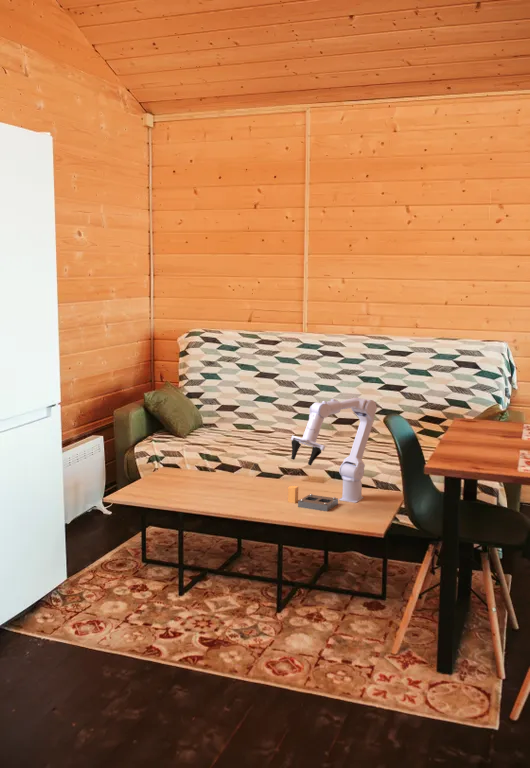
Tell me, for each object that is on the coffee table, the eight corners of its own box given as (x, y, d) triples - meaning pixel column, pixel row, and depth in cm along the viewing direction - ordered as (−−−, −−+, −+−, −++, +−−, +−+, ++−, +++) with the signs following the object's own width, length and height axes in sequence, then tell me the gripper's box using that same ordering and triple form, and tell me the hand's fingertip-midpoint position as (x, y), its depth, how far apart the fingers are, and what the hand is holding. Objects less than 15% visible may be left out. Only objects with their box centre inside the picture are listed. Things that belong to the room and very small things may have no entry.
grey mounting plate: (309, 500, 331) (309, 493, 331) (337, 504, 326) (338, 497, 325) (298, 506, 321) (298, 499, 320) (327, 511, 315) (327, 504, 315)
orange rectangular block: (291, 500, 330) (291, 485, 330) (298, 501, 329) (298, 486, 328) (288, 502, 328) (288, 487, 327) (294, 503, 326) (295, 488, 325)
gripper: (293, 423, 315) (281, 454, 313) (325, 433, 309) (313, 465, 307) (299, 427, 321) (287, 458, 319) (330, 437, 315) (319, 468, 313)
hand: (300, 462), depth 313 cm, fingers open, 7 cm apart
